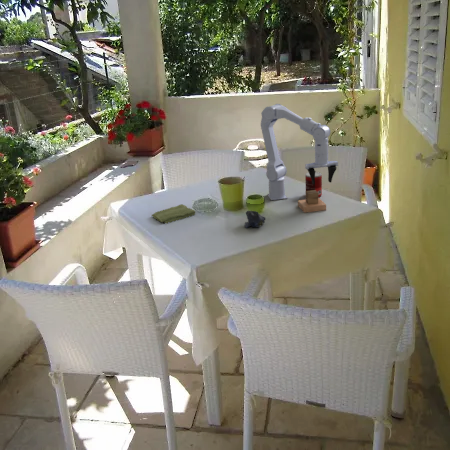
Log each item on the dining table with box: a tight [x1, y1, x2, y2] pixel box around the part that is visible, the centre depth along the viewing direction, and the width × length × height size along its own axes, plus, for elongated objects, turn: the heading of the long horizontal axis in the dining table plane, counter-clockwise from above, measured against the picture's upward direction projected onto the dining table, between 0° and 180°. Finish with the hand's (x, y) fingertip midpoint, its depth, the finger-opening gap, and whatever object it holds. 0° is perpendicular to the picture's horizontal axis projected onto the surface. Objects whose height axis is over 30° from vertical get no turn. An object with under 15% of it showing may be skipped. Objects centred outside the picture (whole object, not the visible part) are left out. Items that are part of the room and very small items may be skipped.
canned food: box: [304, 171, 323, 198], centre depth 233 cm, size 8×8×11 cm
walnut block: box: [305, 190, 318, 205], centre depth 217 cm, size 4×4×5 cm
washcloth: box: [151, 204, 196, 224], centre depth 222 cm, size 13×18×3 cm
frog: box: [244, 210, 267, 229], centre depth 202 cm, size 9×11×7 cm
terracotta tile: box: [297, 197, 327, 214], centre depth 219 cm, size 10×10×2 cm
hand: (321, 182), depth 220 cm, fingers open, 7 cm apart
